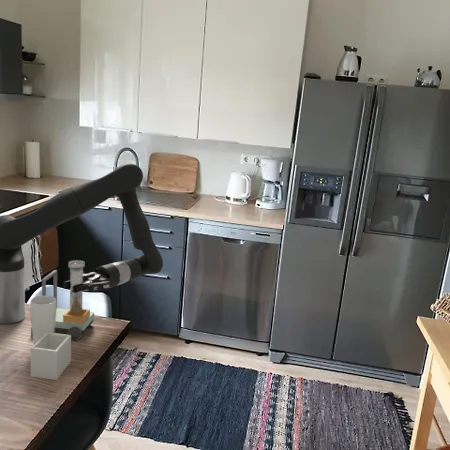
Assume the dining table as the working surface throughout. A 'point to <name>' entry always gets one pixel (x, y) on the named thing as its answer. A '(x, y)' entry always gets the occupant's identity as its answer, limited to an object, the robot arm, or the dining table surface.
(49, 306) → the drinking glass
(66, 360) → the bin
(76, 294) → the steel pin
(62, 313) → the trolley
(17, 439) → the dining table surface
